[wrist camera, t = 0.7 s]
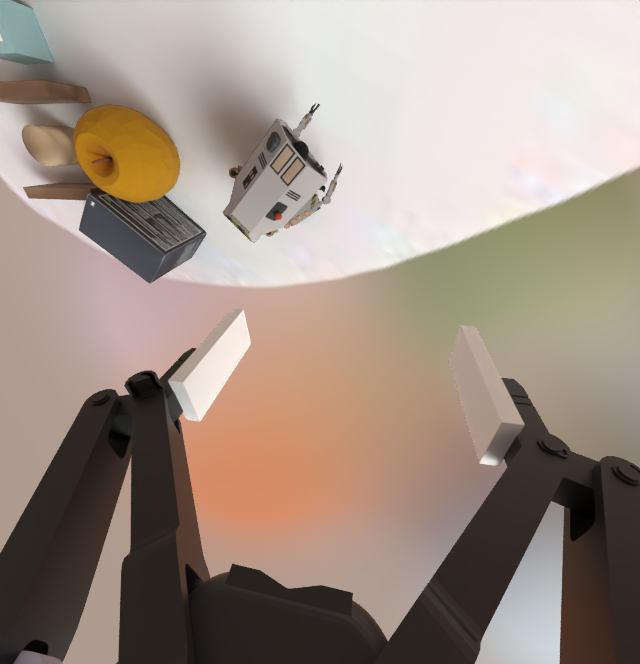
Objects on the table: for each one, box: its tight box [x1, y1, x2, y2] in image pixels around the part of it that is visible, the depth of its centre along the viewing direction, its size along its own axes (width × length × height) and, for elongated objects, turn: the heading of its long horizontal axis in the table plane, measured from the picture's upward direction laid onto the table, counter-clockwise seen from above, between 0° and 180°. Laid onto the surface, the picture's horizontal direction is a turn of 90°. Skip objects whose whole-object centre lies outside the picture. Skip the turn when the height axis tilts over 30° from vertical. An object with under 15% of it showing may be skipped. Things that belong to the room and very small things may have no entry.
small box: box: [79, 191, 206, 283], centre depth 39 cm, size 11×6×10 cm, turn 47°
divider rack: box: [0, 80, 103, 200], centre depth 31 cm, size 34×11×6 cm, turn 0°
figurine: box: [223, 104, 342, 243], centre depth 30 cm, size 9×12×15 cm
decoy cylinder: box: [22, 125, 79, 166], centre depth 37 cm, size 4×4×5 cm
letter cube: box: [0, 0, 54, 64], centre depth 31 cm, size 4×4×5 cm
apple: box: [73, 105, 180, 203], centre depth 33 cm, size 10×10×12 cm
